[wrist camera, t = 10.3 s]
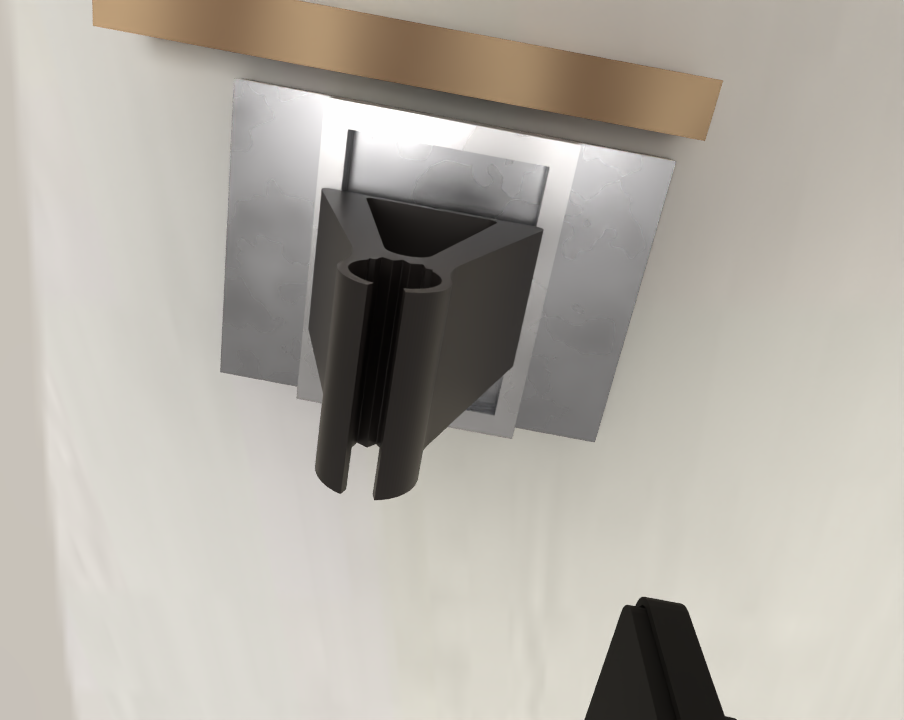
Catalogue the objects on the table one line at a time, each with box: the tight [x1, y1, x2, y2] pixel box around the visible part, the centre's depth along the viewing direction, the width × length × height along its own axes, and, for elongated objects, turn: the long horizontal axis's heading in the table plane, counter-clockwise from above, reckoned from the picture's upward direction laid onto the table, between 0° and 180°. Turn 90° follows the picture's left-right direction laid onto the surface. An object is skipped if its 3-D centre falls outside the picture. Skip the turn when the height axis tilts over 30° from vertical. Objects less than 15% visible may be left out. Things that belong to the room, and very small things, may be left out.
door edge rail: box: [92, 0, 723, 141], centre depth 25 cm, size 22×2×4 cm, turn 80°
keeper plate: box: [220, 78, 676, 442], centre depth 29 cm, size 18×13×2 cm
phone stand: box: [308, 188, 544, 500], centre depth 23 cm, size 9×6×12 cm, turn 80°
